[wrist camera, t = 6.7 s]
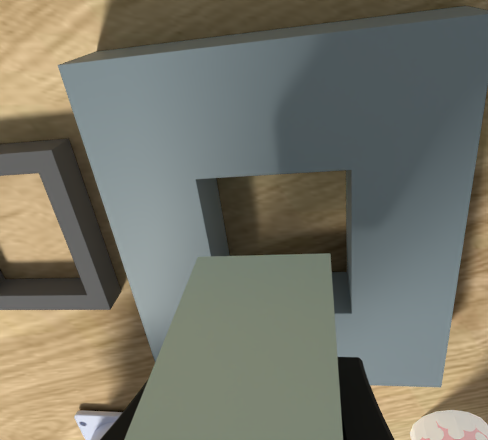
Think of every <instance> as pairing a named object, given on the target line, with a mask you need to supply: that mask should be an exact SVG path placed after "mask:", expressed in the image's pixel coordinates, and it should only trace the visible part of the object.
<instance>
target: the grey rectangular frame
mask: <svg viewBox="0 0 488 440" xmlns="http://www.w3.org/2000/svg"><path fill="white" fill-rule="evenodd" d="M32 173H39V174H40V177H41V179H42V182H43V184H44V187H45V190H46V192H47V195H48V197H49V200H50V202H51V205H52V207H53V210H54V212H55V215H56V217H57V220H58V222H59V225H60V227H61V230H62V232H63V235H64V237H65V240H66V242H67V245H68V248H69V250H70V253H71V255H72V258H73V260H74V263H75V265H76V268H77V270H78V273H79V275H80V278H45V279H5V278H4V276H3V274H2V272H1V270H0V310H110V309H111V308H112V306H113V304H114V303H115V301H116V299H117V298H118V296H119V294H120V293H121V289H120V286H119V284H118V281H117V278H116V275H115V272H114V269H113V266H112V263H111V260H110V257H109V254H108V252H107V249H106V246H105V243H104V240H103V237H102V234H101V231H100V228H99V225H98V222H97V220H96V217H95V214H94V211H93V208H92V205H91V202H90V199H89V196H88V193H87V190H86V188H85V185H84V182H83V179H82V176H81V173H80V170H79V167H78V164H77V161H76V158H75V156H74V153H73V150H72V147H71V144H70V141H69V139H57V140H45V141H33V142H21V143H9V144H0V176H3V175H17V174H32Z"/></svg>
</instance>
